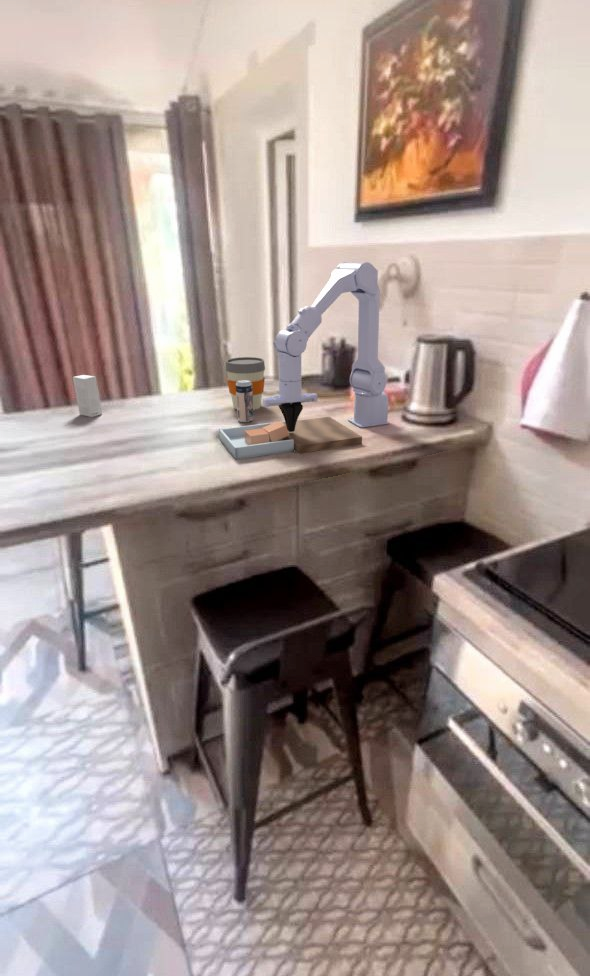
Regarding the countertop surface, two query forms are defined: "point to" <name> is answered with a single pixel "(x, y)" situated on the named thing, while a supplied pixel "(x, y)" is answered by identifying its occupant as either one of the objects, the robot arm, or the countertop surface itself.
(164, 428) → the countertop surface
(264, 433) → the tile
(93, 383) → the skincare box
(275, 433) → the tile
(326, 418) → the board
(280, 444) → the tray
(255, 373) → the reusable coffee cup
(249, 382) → the beer can
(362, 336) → the robot arm
